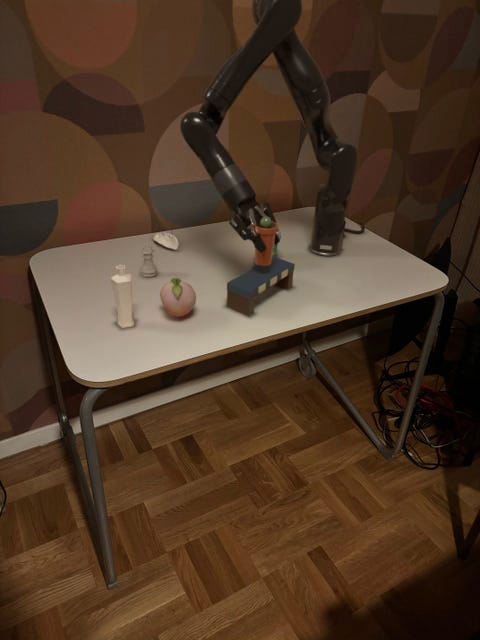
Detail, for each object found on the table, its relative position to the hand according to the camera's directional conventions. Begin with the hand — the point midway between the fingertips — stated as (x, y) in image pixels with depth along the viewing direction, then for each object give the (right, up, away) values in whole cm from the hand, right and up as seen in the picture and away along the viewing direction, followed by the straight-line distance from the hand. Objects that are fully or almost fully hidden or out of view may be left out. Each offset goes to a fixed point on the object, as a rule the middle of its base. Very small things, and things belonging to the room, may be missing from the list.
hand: (270, 246), depth 123 cm
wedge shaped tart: (+1, -1, +26) cm, 26 cm away
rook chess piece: (-33, -5, +17) cm, 37 cm away
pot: (-2, -3, +3) cm, 5 cm away
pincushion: (-30, +5, +33) cm, 45 cm away
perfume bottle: (-35, -19, -4) cm, 40 cm away
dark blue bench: (-2, -12, +9) cm, 15 cm away
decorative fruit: (-22, -17, 0) cm, 28 cm away
